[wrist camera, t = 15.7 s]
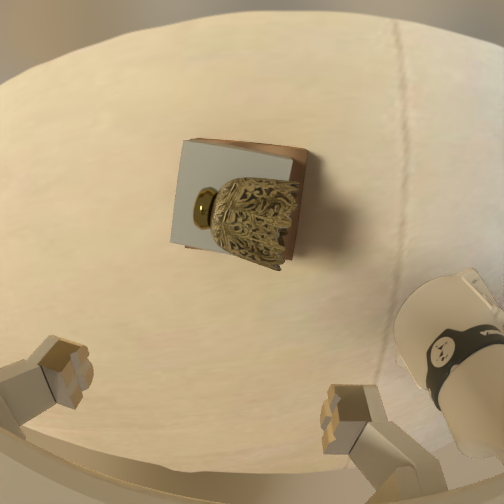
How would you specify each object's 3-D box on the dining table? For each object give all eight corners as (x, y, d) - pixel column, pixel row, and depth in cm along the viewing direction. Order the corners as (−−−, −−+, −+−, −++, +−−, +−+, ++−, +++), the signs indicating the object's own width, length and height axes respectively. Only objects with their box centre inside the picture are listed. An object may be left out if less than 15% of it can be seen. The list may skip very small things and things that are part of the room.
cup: (193, 160, 22) (304, 182, 21) (216, 164, 29) (300, 182, 29) (175, 258, 24) (279, 284, 23) (201, 240, 31) (282, 259, 30)
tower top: (290, 156, 31) (293, 160, 27) (270, 247, 35) (270, 262, 31) (193, 139, 31) (183, 140, 27) (181, 229, 35) (170, 242, 31)
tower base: (304, 148, 34) (307, 150, 31) (290, 247, 39) (292, 260, 35) (198, 137, 35) (190, 139, 31) (193, 236, 39) (184, 247, 35)
